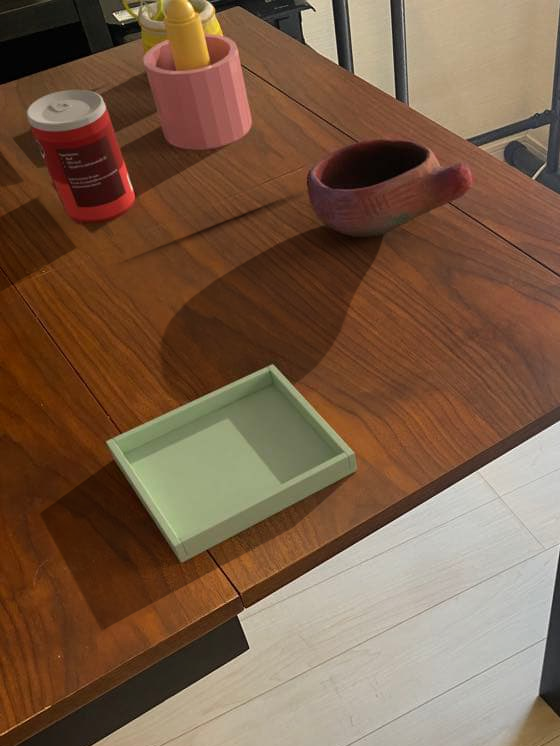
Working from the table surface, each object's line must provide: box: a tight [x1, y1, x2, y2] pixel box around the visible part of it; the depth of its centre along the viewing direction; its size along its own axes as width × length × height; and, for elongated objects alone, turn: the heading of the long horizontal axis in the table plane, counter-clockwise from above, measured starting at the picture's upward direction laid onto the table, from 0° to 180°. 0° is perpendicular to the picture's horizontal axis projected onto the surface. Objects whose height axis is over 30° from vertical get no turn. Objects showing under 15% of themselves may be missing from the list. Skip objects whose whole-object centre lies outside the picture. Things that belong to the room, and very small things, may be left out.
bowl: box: [306, 138, 474, 238], centre depth 84 cm, size 16×13×8 cm
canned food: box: [25, 89, 136, 226], centre depth 88 cm, size 8×8×11 cm
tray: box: [105, 363, 358, 564], centre depth 66 cm, size 15×13×2 cm
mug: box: [121, 0, 224, 56], centre depth 108 cm, size 13×11×12 cm
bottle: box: [164, 0, 211, 71], centre depth 96 cm, size 4×4×14 cm
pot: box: [142, 34, 253, 151], centre depth 98 cm, size 11×11×9 cm
